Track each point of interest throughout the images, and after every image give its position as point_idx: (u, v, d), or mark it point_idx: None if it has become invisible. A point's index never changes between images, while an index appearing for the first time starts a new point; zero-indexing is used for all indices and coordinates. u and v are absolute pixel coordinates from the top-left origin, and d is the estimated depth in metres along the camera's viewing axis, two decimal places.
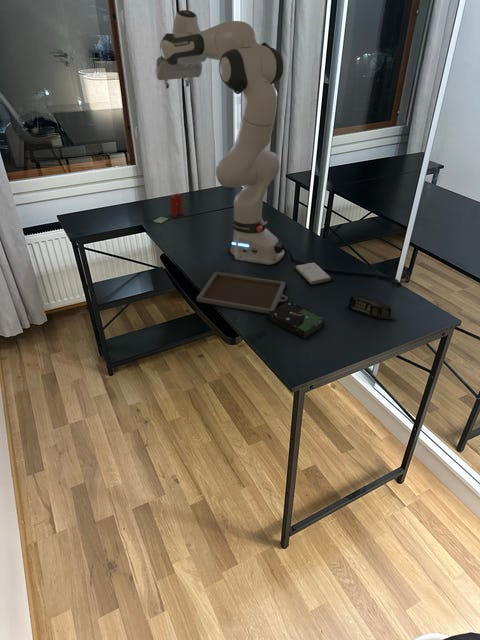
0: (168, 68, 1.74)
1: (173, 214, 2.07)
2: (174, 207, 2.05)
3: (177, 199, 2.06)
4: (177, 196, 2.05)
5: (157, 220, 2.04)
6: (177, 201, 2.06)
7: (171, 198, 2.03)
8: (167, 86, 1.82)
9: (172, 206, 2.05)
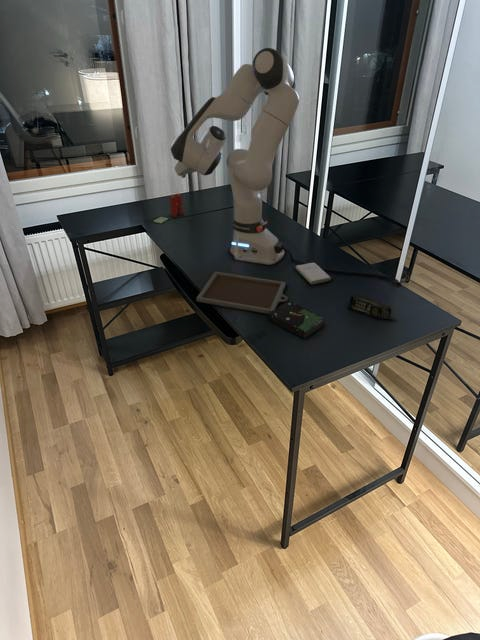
0: None
1: (173, 214, 2.07)
2: (174, 207, 2.05)
3: (177, 199, 2.06)
4: (177, 196, 2.05)
5: (157, 220, 2.04)
6: (177, 201, 2.06)
7: (171, 198, 2.03)
8: None
9: (172, 206, 2.05)
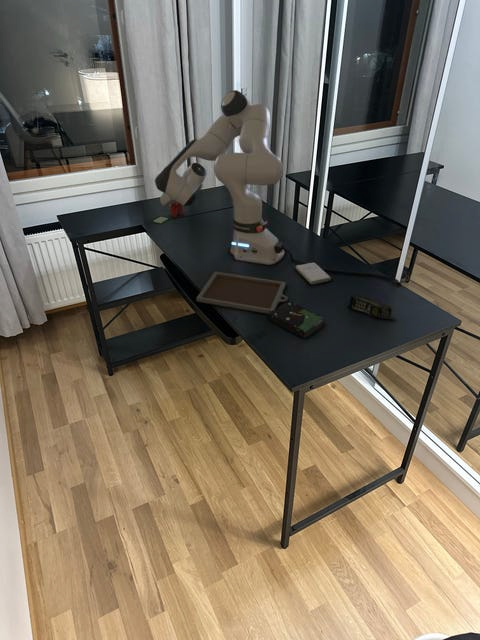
0: None
1: (173, 214, 2.07)
2: (174, 207, 2.05)
3: None
4: None
5: (157, 220, 2.04)
6: None
7: None
8: None
9: (172, 206, 2.05)
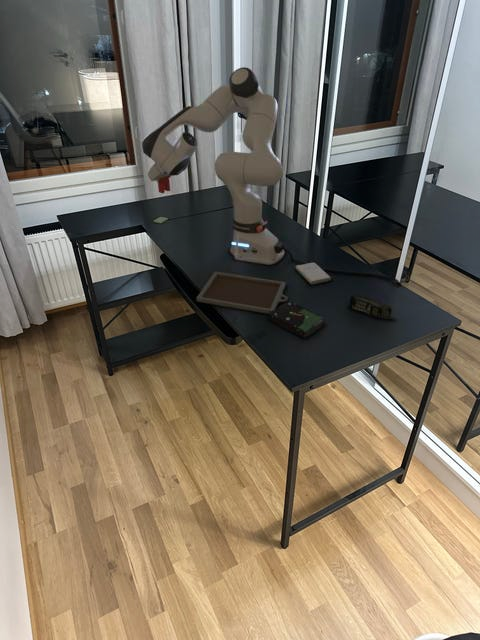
0: None
1: (161, 190, 1.97)
2: (162, 182, 1.95)
3: None
4: None
5: (157, 220, 2.04)
6: None
7: None
8: None
9: (159, 181, 1.95)
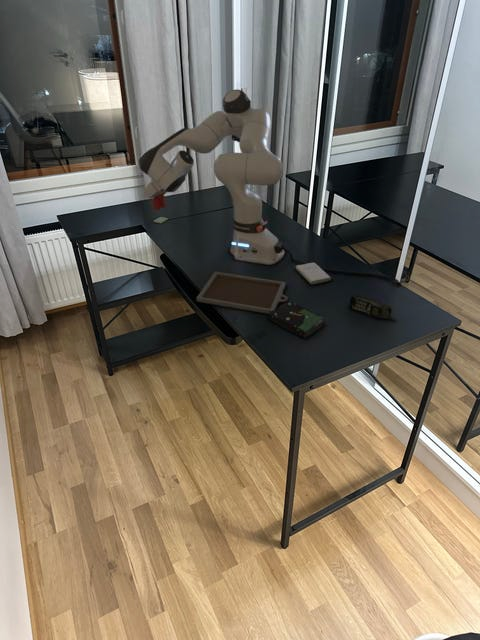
0: None
1: (156, 207, 1.99)
2: (157, 199, 1.97)
3: None
4: None
5: (157, 220, 2.04)
6: None
7: None
8: None
9: (155, 199, 1.97)
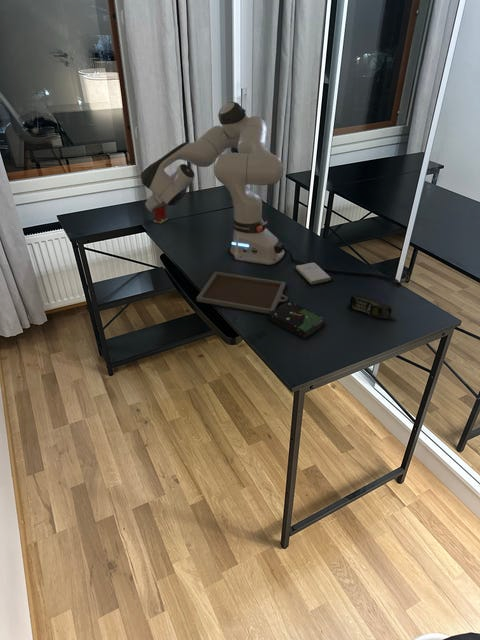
0: None
1: (157, 219, 2.03)
2: (158, 211, 2.00)
3: None
4: None
5: None
6: None
7: None
8: None
9: (156, 210, 2.00)
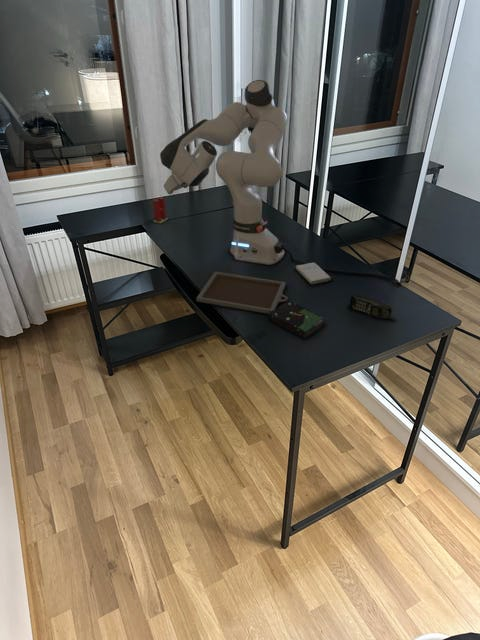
0: None
1: (157, 219, 2.03)
2: (158, 211, 2.00)
3: (160, 203, 2.01)
4: (160, 200, 2.00)
5: None
6: (160, 205, 2.02)
7: (155, 202, 1.98)
8: None
9: (156, 210, 2.00)
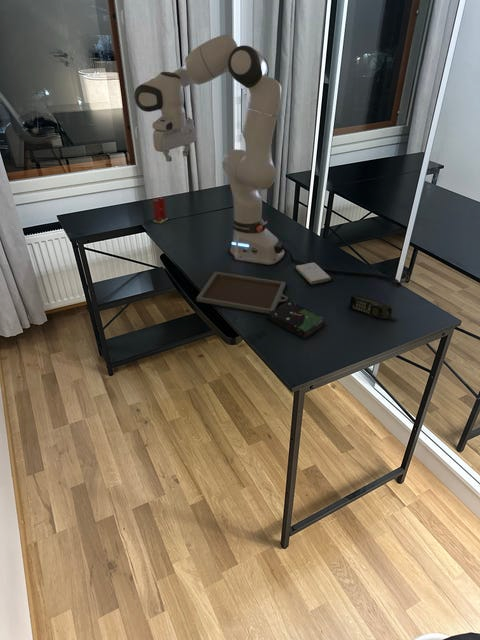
0: None
1: (157, 219, 2.03)
2: (158, 211, 2.00)
3: (160, 203, 2.01)
4: (160, 200, 2.00)
5: None
6: (160, 205, 2.02)
7: (155, 202, 1.98)
8: None
9: (156, 210, 2.00)
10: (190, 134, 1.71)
